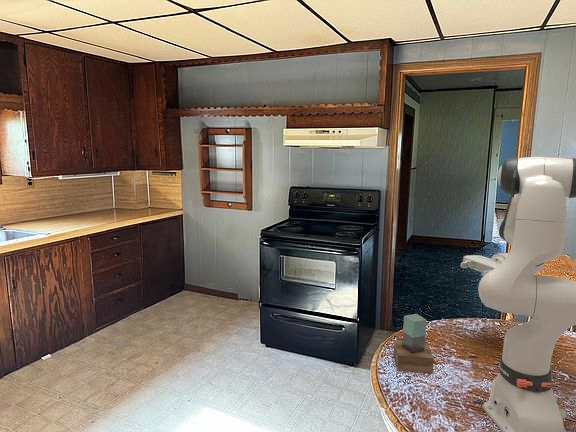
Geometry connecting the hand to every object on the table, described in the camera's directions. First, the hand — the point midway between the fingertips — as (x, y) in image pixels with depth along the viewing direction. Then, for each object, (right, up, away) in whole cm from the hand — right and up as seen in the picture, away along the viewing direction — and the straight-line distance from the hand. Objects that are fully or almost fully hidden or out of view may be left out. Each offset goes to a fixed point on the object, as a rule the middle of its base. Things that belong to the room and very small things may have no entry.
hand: (472, 269), depth 139 cm
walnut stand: (-22, -31, -3) cm, 38 cm away
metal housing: (-22, -26, -4) cm, 34 cm away
